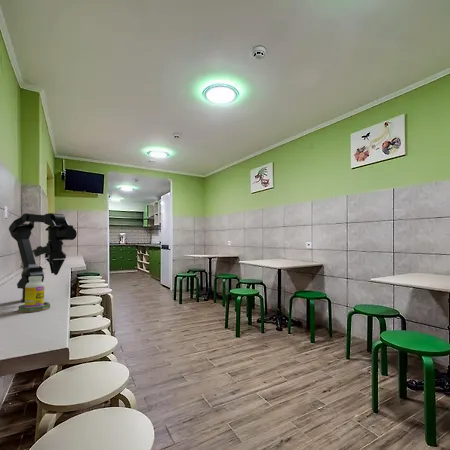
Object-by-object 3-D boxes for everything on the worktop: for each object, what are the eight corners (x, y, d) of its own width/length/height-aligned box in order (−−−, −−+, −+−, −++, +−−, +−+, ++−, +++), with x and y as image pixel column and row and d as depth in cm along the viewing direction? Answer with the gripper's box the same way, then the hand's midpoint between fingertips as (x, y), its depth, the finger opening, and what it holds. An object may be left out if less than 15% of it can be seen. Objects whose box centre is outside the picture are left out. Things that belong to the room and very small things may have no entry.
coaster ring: (17, 309, 113) (17, 304, 113) (48, 305, 120) (48, 301, 120) (18, 314, 105) (18, 309, 105) (51, 309, 112) (51, 305, 112)
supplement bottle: (35, 309, 109) (36, 277, 110) (20, 309, 109) (21, 277, 110) (47, 306, 115) (48, 275, 116) (33, 305, 116) (34, 275, 117)
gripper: (32, 240, 129) (31, 273, 128) (36, 240, 115) (35, 277, 114) (59, 240, 136) (58, 272, 135) (66, 240, 122) (65, 275, 121)
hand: (54, 274), depth 126 cm, fingers open, 9 cm apart
